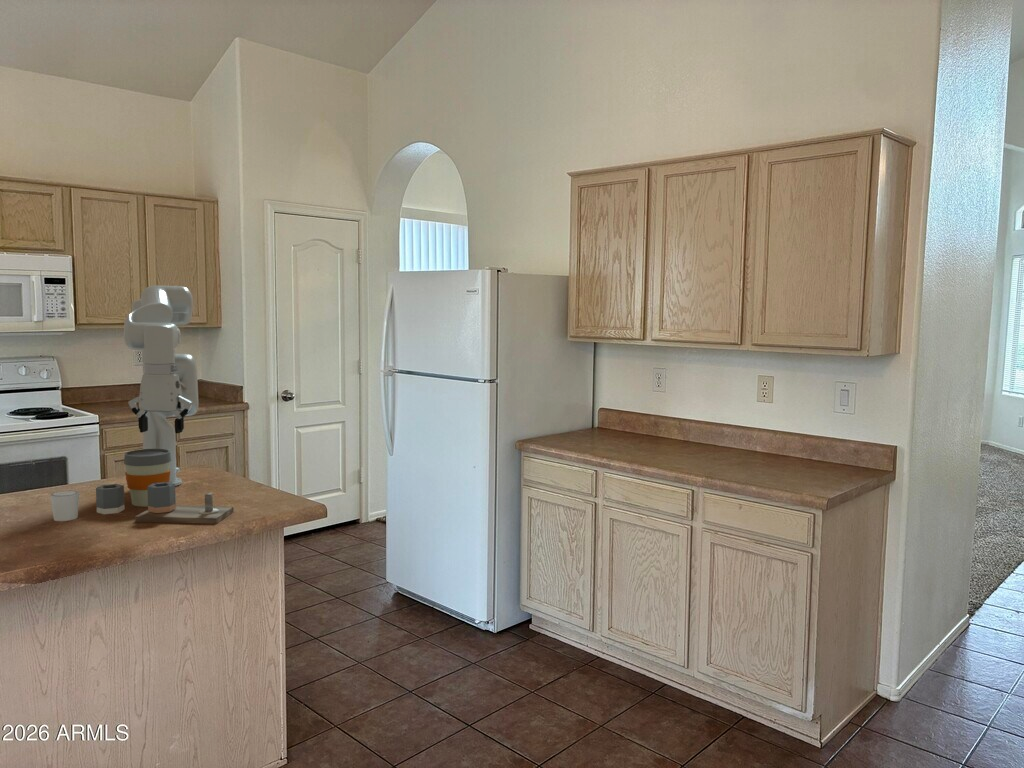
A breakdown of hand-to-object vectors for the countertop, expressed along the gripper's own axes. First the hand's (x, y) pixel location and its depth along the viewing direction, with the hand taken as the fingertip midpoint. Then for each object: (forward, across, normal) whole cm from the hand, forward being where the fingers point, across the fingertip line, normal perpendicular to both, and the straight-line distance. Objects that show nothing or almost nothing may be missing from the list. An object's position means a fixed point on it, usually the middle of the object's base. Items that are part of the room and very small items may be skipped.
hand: (161, 432), depth 210 cm
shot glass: (+24, +24, +5) cm, 34 cm away
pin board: (+23, -6, +1) cm, 24 cm away
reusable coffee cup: (+24, +11, -13) cm, 29 cm away
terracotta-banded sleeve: (+22, 0, +1) cm, 22 cm away
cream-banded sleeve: (+24, +17, -3) cm, 29 cm away
